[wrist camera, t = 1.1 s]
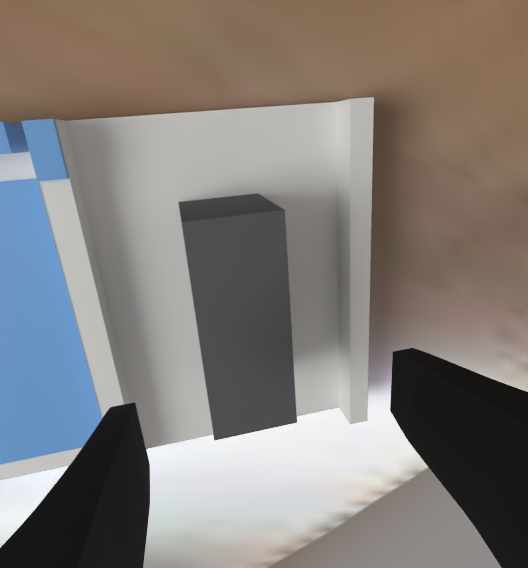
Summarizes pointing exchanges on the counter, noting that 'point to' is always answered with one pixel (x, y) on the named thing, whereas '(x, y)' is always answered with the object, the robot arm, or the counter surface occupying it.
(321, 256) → the tray
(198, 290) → the dark gray rectangular block
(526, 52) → the counter surface
